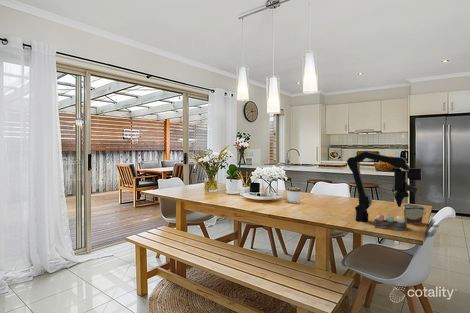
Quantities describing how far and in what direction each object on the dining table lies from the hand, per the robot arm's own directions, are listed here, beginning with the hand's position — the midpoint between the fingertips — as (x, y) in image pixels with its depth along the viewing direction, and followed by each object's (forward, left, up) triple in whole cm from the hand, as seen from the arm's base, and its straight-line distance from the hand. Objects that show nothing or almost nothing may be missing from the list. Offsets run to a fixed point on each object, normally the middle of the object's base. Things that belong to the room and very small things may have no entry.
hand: (399, 206), depth 158 cm
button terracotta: (-10, -5, -8) cm, 14 cm away
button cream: (0, -5, -8) cm, 9 cm away
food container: (+8, +12, -11) cm, 18 cm away
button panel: (-5, -5, -11) cm, 13 cm away
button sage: (-5, -5, -8) cm, 11 cm away
